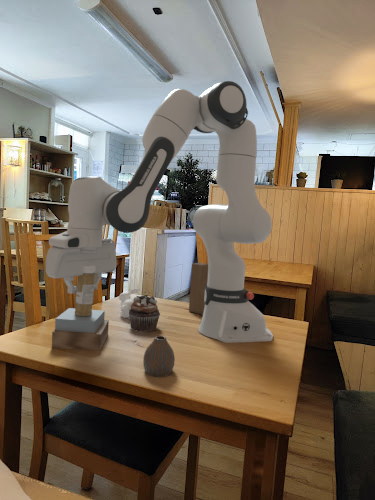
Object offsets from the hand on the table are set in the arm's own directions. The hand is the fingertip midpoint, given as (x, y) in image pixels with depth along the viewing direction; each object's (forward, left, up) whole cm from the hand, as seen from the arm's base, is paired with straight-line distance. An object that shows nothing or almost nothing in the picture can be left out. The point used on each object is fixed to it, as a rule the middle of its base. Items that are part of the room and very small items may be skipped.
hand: (82, 291), depth 97 cm
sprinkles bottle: (0, 0, -6) cm, 6 cm away
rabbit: (-11, -26, -14) cm, 32 cm away
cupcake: (-16, -14, -14) cm, 25 cm away
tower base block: (0, 0, -14) cm, 14 cm away
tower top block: (0, 0, -9) cm, 9 cm away
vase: (-21, +18, -14) cm, 31 cm away
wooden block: (-36, -34, -14) cm, 52 cm away
